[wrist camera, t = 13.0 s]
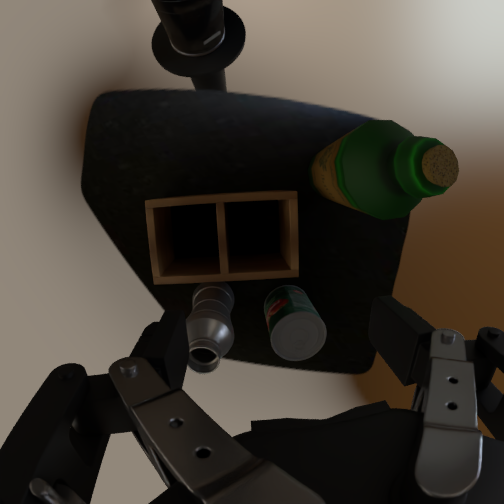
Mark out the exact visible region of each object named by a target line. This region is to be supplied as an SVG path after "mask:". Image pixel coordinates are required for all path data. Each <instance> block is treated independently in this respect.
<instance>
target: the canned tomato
mask: <svg viewBox="0 0 504 504" xmlns="http://www.w3.org/2000/svg"><path fill="white" fill-rule="evenodd" d="M264 313H265V316H266V321H267V325H268V330H269V335H270V339H271V344H272V348H273V349H274V351H275V352H276V353H277V354H278V355H279V356H280V357H282V358H284V359H286V360H291V361H300V360H304V359H307V358H309V357H311V356H313V355H314V354H316V353H317V352H318V351H319V350H320V349H321V348H322V346H323V344H324V342H325V340H326V326H325V324H324V322H323V321H322V319H321V318H320V316H319V314H318V313H317V311H316V310H315V308H314V306H313V305H312V303H311V301H310V300H309V298H308V297H307V295H306V293H305V292H304V291H303V290H302V289H301V288H299V287H297V286H293V285H283V286H280V287H278V288H276V289H274V290H273V291H271V292H270V294H269V295H268V296H267V298H266V300H265V303H264Z"/></svg>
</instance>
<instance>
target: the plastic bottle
mask: <svg viewBox="0 0 504 504" xmlns="http://www.w3.org/2000/svg"><path fill="white" fill-rule="evenodd" d="M233 305H234V294H233V291H232V289H231V288H230V286H229V285H228V284H227V283H225V282H224V281H222V282H203V283H201V284H200V285H199V286H198V287H197V288H196V290H195V291H194V294H193V310H192V312H191V314H190V315H189V317H188V318H187V319H186V327H187V334H188V340H189V360H188V364H187V366H188V368H189V369H190V370H192V371H193V372H196V373H199V374H208V373H211V372H213V371H215V370H216V369H217V368H218V365H219V363H220V359H221V357H222V356H224V355H225V354H226V353H227V352H228V351H229V349H230V348H231V346H232V344H233V341H234V330H233V326H232V323H231V320H230V312H231V310H232V308H233Z"/></svg>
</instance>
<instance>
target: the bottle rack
mask: <svg viewBox="0 0 504 504" xmlns="http://www.w3.org/2000/svg"><path fill="white" fill-rule="evenodd" d="M260 200H278V202H279V233H280V253H269V254H251V255H233V256H230V245H229V228H228V210H227V202H239V201H260ZM206 203H216V212H217V228H218V243H219V256H215V257H197V258H178V259H175V253H174V243H173V232H172V220H171V207H170V206H179V205H192V204H206ZM145 207H146V218H147V229H148V239H149V248H150V256H151V264H152V272H153V280H154V284H179V283H201V282H222V281H240V280H257V279H274V278H289V277H299V270H298V269H299V254H298V203H297V191H288V190H273V191H249V192H230V193H214V194H199V195H186V196H174V197H164V198H158V199H152V200H146V201H145Z"/></svg>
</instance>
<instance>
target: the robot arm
mask: <svg viewBox="0 0 504 504" xmlns="http://www.w3.org/2000/svg"><path fill="white" fill-rule="evenodd" d="M151 1H152V3H153V5H154V7H155V9H156V11H157V13H158V15H159V17H160V19H161V22H162V24H163V26H164V28H165V30H166V32H167V35H168V37H169V39H170V42H171V45H172V47H173V48H174V50H175V51H177V52H178V53H180V54H182V55H184V56H189V57H198V56H203V55H206V54H209V53H211V52H213V51H214V50H216V49H217V48H218V47H219V46H220V45H221V44H222V42H223V40H224V38H225V27H224V16H223V3H222V2H223V1H222V0H151ZM369 339H370V342H371V344H372V345H373V346H374V348H375V349H376V350H377V351H378V353H379V354H380V355H381V357H382V358H383V359H384V360H385V362H386V363H387V364H388V366H389V367H390V368H391V369H392V371H393V372H394V373H395V375H396V376H397V377H398V379H399V380H400V381H401V383H402V384H403V385H404V386H408V385H411V384H414V383H417V386H416V389H415V392H414V396H413V401H412V405H411V409H410V410H408V409H397V408H395V409H394V408H392V409H391V408H390V407H389V405H388V404H387V402H386V401H385V400H384V401H380V402H376V403H372V404H368V405H363V406H359V407H355V408H353V409H350V410H348V411H346V412H343V413H341V414H338V415H335V416H333V417H330V418H328V419H322V420H319V419H294V418H282V419H271V420H257V421H251V431H249V432H244V433H242V434H239V435H236V436H234V437H231V436H230V435H229V434H228V433H227V432H226V431H224V430H223V429H222V428H221V427H220V426H219V425H218V424H217V423H216V422H215V421H214V420H213V419H212V418H211V417H210V416H209V415H207V414H206V413H205V412H204V411H203V410H202V409H201V408H200V407H199V406H198V405H197V404H196V403H195V402H194V401H193V400H192V399H191V398H190V397H189V396H188V395H187V394H186V393H185V391H183V390H182V386H183V381H184V377H185V373H186V369H187V364H188V360H189V340H188V334H187V327H186V320H185V314H184V311H183V310H165V312H164V314H163V315H162V317H161V320H160V321H159V322H153V323H151V324H150V325H148V326H147V327H146V328H145V329H144V331H143V333H142V336H140V338H139V340H138V342H137V343H136V345H135V347H134V349H133V351H132V353H131V354H130V356H129V357H125V358H122V359H119V360H117V361H116V362H114V363H113V364H112V365H111V366H110V368H109V373H107V374H101V375H92V376H87V373H86V370H85V368H84V367H83V366H82V365H80V364H76V363H68V364H64V365H61V366H59V367H57V368H55V369H54V370H53V371H52V372H51V373H50V374H49V376H48V377H47V379H46V380H45V381H44V383H43V384H42V386H41V387H40V388H39V390H38V391H37V393H36V394H35V396H34V397H33V398H32V400H31V401H30V403H29V405H28V406H27V407H26V409H25V410H24V412H23V413H22V415H21V416H20V418H19V420H18V421H17V423H16V424H15V426H14V427H13V429H12V431H11V432H10V434H9V436H8V437H7V439H6V441H5V442H4V444H3V445H2V447H1V449H0V504H90V502H91V498H92V494H93V491H94V487H95V483H96V480H97V477H98V473H99V470H100V466H101V463H102V459H103V456H104V453H105V450H106V447H107V444H108V441H109V438H110V435H111V434H115V433H124V432H132V433H133V435H134V436H135V438H136V440H137V441H138V443H139V445H140V446H141V448H142V449H143V451H144V452H145V454H146V455H147V457H148V458H149V460H150V461H151V463H152V464H153V466H154V467H155V469H156V470H157V472H158V474H159V475H160V477H161V479H162V480H163V482H164V483H165V485H166V486H167V487H168V489H167V490H165V491H164V492H163V493H162V494H160V495H159V496H158V497H157V498H155V499H154V500H153V501H151V502H150V503H149V504H504V394H502V393H501V392H500V391H499V390H498V389H497V388H496V387H495V386H494V384H493V383H492V382H491V380H492V377H493V375H494V373H495V370H496V368H497V367H498V368H499V369H500V370H501V371H502V372H503V373H504V332H503V331H501V330H500V329H497V328H494V327H483V328H481V329H480V330H479V332H478V335H477V339H476V340H464V337H463V336H462V335H461V334H460V333H459V332H457V331H455V330H452V329H446V328H441V329H437V330H436V329H435V328H434V327H433V326H431V325H430V324H429V323H428V322H427V321H425V320H424V319H422V317H421V316H419V315H417V313H416V312H414V311H413V310H412V309H410V308H408V307H406V306H403V305H402V304H401V303H400V302H398V301H397V300H396V299H394V298H393V297H392V296H383V297H375V298H374V299H373V302H372V309H371V316H370V324H369ZM477 415H478V416H479V418H480V419H481V420H482V422H483V423H484V424H485V426H486V427H487V428H488V429H489V431H490V432H491V433H492V435H493V436H494V437H495V439H493V438H489V437H487V436H484V435H482V432H481V431H480V430H478V429H477ZM70 427H71V428H70Z"/></svg>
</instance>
